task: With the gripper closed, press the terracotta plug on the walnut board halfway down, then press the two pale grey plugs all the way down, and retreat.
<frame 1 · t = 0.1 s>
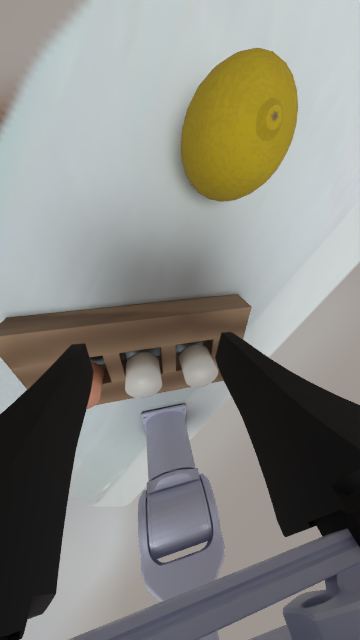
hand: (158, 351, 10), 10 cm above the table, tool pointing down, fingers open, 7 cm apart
walnut board: (141, 346, 22), on the table
grey plug middle: (143, 374, 19), point 5 cm above the table, slide at 0.0 cm
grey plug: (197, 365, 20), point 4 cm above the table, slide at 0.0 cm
lemon: (205, 157, 13), on the table
terracotta plug: (82, 385, 18), point 5 cm above the table, slide at 0.0 cm
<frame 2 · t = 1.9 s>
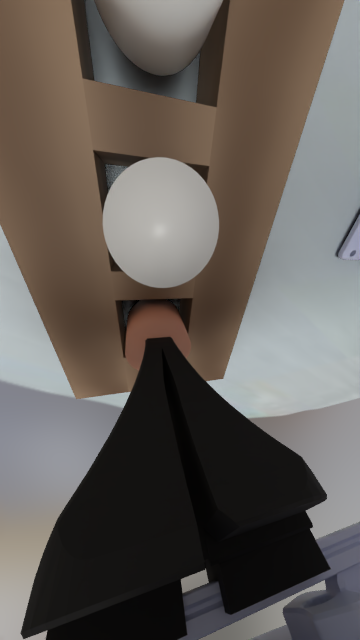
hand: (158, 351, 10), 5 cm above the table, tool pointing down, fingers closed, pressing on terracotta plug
walnut board: (150, 218, 10), on the table
grey plug middle: (159, 228, 7), point 5 cm above the table, slide at 0.0 cm
terracotta plug: (156, 334, 11), point 3 cm above the table, slide at 1.0 cm, touching gripper
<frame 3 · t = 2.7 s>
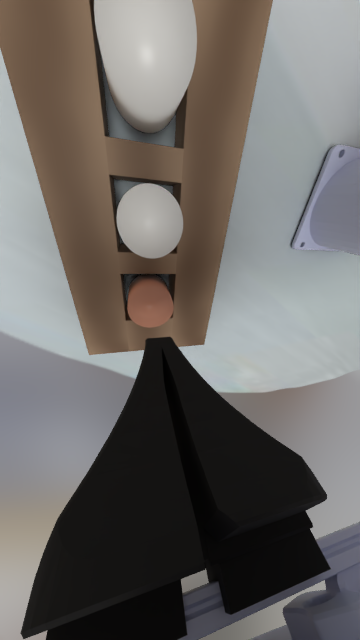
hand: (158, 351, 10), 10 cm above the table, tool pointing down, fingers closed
walnut board: (145, 216, 14), on the table
grey plug middle: (149, 222, 11), point 4 cm above the table, slide at 0.0 cm
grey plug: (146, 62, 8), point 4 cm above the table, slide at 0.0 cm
terracotta plug: (149, 300, 15), point 3 cm above the table, slide at 1.2 cm
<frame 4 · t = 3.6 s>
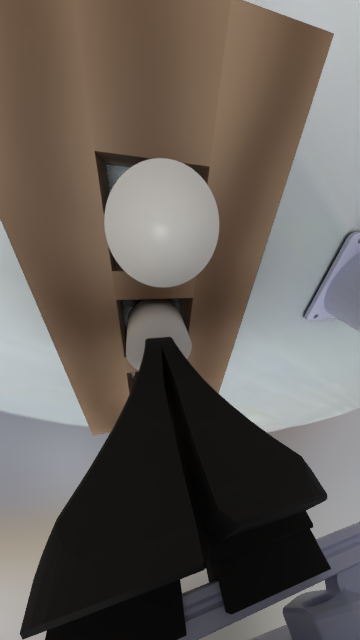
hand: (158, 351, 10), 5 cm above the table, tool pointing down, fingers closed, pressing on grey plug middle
walnut board: (152, 306, 14), on the table
grey plug middle: (157, 334, 11), point 4 cm above the table, slide at 1.0 cm, touching gripper
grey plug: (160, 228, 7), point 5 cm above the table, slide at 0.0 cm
terracotta plug: (156, 391, 14), point 3 cm above the table, slide at 1.2 cm
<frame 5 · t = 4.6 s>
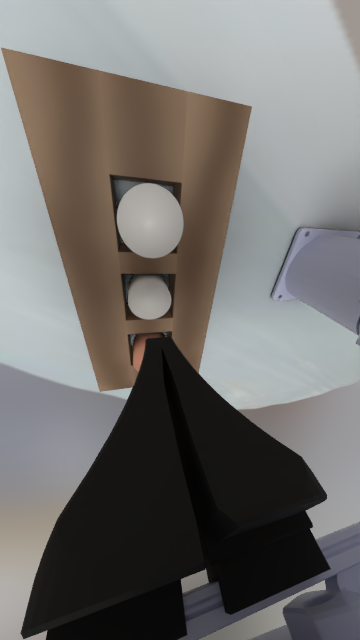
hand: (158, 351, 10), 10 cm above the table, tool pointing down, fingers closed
walnut board: (147, 284, 18), on the table
grey plug middle: (149, 294, 16), point 2 cm above the table, slide at 2.4 cm
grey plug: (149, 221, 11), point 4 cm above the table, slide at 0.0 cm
terracotta plug: (151, 351, 18), point 3 cm above the table, slide at 1.2 cm
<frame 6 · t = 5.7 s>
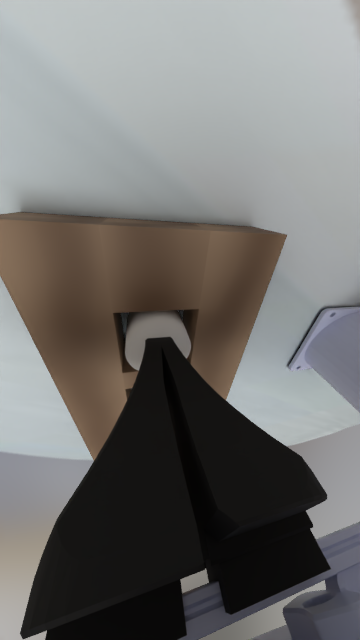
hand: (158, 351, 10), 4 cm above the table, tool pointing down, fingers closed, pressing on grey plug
walnut board: (154, 371, 16), on the table
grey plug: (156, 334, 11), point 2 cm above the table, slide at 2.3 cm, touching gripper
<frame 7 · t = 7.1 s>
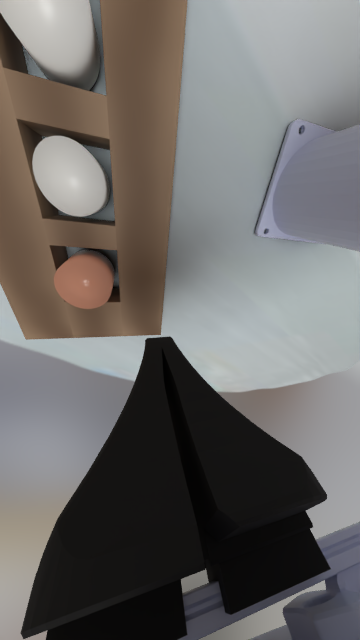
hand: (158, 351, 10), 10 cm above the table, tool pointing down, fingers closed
walnut board: (85, 184, 13), on the table
grey plug middle: (77, 182, 11), point 2 cm above the table, slide at 2.4 cm
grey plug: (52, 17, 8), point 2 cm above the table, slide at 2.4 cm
terracotta plug: (88, 278, 14), point 3 cm above the table, slide at 1.2 cm
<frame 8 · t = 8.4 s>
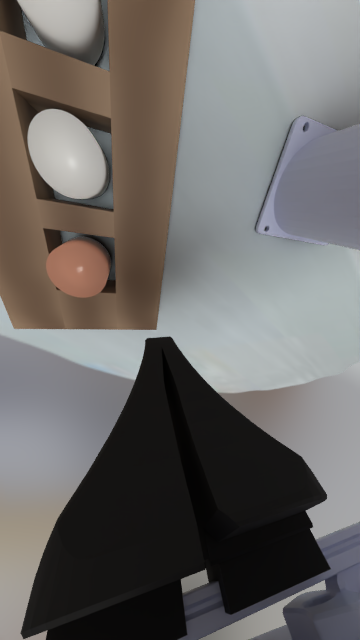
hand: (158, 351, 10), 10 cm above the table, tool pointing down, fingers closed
walnut board: (83, 168, 13), on the table
grey plug middle: (75, 163, 11), point 2 cm above the table, slide at 2.4 cm
terracotta plug: (83, 266, 13), point 3 cm above the table, slide at 1.2 cm
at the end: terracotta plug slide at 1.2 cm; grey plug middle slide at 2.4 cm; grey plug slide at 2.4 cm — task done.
